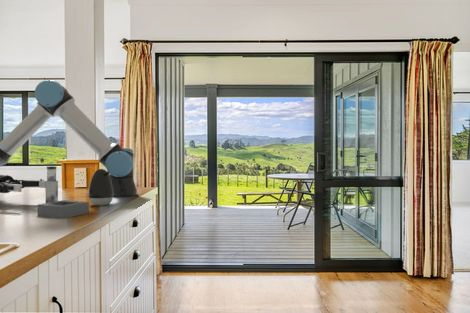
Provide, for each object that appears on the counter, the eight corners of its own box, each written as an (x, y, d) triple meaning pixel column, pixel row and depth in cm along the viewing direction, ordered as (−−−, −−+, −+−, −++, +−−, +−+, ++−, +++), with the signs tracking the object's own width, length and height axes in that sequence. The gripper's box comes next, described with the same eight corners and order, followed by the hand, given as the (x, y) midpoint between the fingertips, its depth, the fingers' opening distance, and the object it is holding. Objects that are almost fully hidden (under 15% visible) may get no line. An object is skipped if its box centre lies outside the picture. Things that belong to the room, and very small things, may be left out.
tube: (52, 207, 150) (52, 166, 149) (60, 208, 148) (60, 166, 148) (43, 209, 146) (42, 166, 145) (51, 210, 144) (50, 167, 144)
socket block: (65, 210, 144) (65, 199, 144) (88, 212, 139) (88, 202, 139) (37, 215, 133) (37, 204, 133) (62, 218, 128) (62, 207, 128)
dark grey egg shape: (97, 207, 150) (97, 170, 150) (83, 205, 157) (83, 168, 156) (119, 204, 159) (119, 168, 158) (104, 202, 165) (104, 167, 164)
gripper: (27, 189, 170) (62, 192, 161) (-30, 196, 147) (6, 200, 138) (27, 172, 169) (61, 174, 161) (-31, 177, 147) (6, 179, 138)
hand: (36, 186), depth 150 cm, fingers open, 13 cm apart
